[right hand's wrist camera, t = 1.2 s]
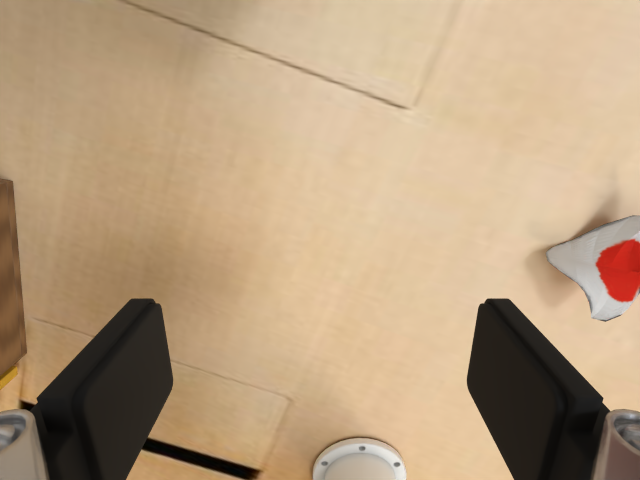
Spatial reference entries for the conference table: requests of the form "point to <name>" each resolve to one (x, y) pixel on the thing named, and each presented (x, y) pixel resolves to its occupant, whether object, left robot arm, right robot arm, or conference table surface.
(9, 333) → the cabinet
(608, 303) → the fish
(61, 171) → the conference table surface
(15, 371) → the drawer
